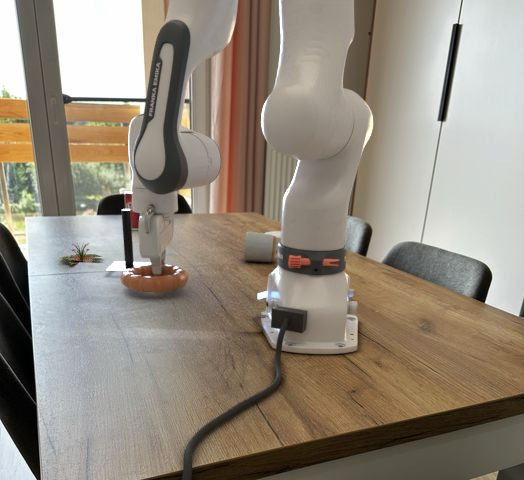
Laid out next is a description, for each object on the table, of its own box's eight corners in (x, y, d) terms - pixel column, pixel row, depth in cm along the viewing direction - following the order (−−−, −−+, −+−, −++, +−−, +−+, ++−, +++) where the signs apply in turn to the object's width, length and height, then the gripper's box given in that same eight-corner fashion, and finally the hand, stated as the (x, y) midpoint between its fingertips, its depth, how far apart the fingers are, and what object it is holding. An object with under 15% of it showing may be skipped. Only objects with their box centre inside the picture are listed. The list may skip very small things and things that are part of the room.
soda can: (125, 226, 177) (123, 190, 172) (147, 226, 179) (145, 190, 174) (127, 230, 171) (124, 193, 166) (149, 230, 173) (147, 193, 168)
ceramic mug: (274, 265, 134) (276, 235, 131) (243, 263, 134) (244, 233, 131) (276, 257, 143) (278, 229, 141) (247, 255, 144) (248, 227, 141)
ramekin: (298, 251, 151) (299, 236, 150) (270, 252, 148) (271, 237, 146) (286, 245, 159) (286, 230, 157) (259, 246, 156) (259, 231, 154)
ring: (184, 294, 97) (183, 279, 96) (115, 293, 97) (113, 278, 96) (191, 277, 109) (190, 263, 108) (129, 276, 109) (128, 262, 108)
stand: (145, 278, 118) (142, 213, 112) (105, 276, 118) (100, 211, 112) (152, 268, 126) (149, 207, 120) (115, 267, 126) (110, 206, 120)
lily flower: (66, 269, 122) (64, 250, 120) (49, 259, 130) (47, 241, 128) (114, 263, 129) (113, 245, 127) (95, 254, 137) (93, 237, 136)
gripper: (163, 209, 92) (167, 284, 98) (177, 197, 111) (180, 260, 117) (127, 208, 92) (133, 283, 97) (148, 196, 111) (152, 260, 116)
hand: (159, 270), depth 107 cm, fingers closed on ring, 3 cm apart
